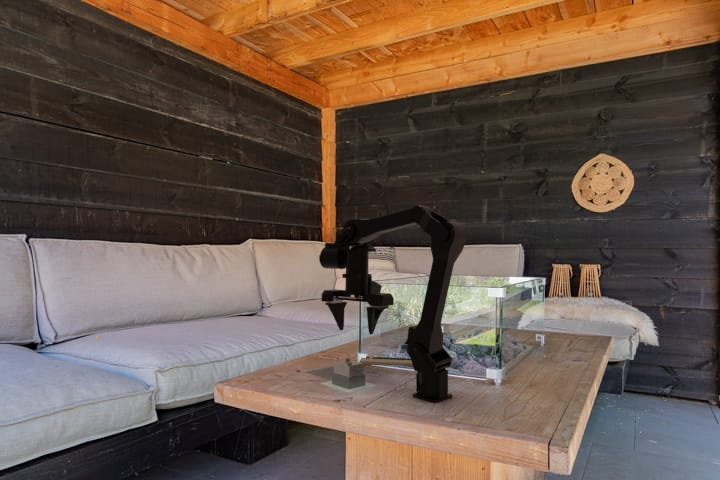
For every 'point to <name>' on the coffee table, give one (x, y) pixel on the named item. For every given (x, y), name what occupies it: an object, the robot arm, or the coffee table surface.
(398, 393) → the coffee table surface
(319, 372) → the stand
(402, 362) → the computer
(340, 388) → the stand
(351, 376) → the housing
